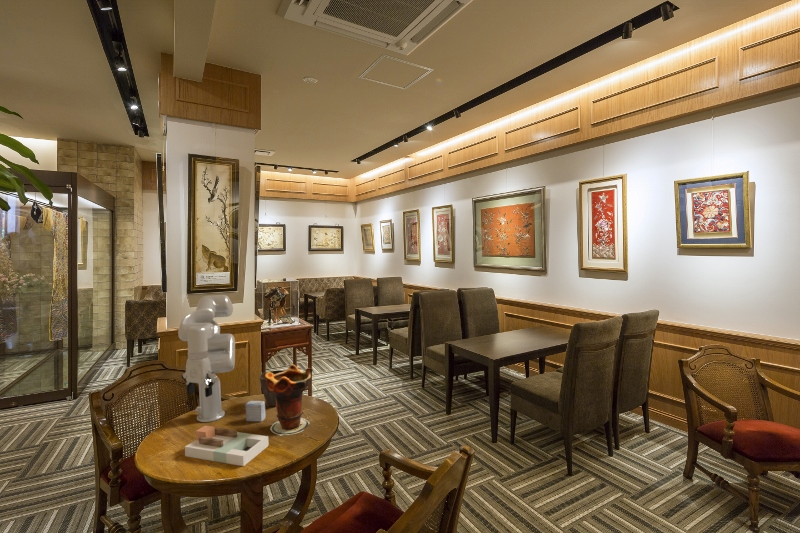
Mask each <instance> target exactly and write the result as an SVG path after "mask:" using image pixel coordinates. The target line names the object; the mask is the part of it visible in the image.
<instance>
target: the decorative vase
mask: <svg viewBox="0 0 800 533" xmlns="http://www.w3.org/2000/svg"><path fill="white" fill-rule="evenodd" d="M283 371H284V372H281V373H277V374H273V373H271V372H269V371H267V372H268V373H266V374H265V378H266V379H267V386H268V388H269V390H270V391H271V392H272V393H274V394H275V399H276V406H275V408H276V412H277V414H276V418H277V421H276V422H274V423H273V424H271V425H272V426H270V428H269V430H270V431H271V433H273V434H274V435H278V436H280V437H281V436H290V435H296V434H298V433H302V432H303V431H305V428H307V427H308V425H310V421H308V420H307V418H306V416H304V418H303V417H302V415H305V413H304V411H302V406H303V405H302V404H303V395H304V394H303V392H304V391H305V390H307V389H308V387H309V385H310V383H311V379H312V372H313V368H310V367H307V368H305V370H304V371H303V370H300V369H299V368H298V367H297V366H296V365H295V364H290V365H289V366H288V368H287V369H286V370H283ZM300 424H302V425H301V426H300ZM298 427H299V428H298ZM295 428H298V429H296V430H294V429H295Z"/></svg>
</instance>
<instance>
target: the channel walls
mask: <svg viewBox="0 0 800 533" xmlns="http://www.w3.org/2000/svg"><path fill="white" fill-rule="evenodd" d="M237 432H238V430H235V429H228V428H223V427H222V428H221V427H215V435H221V436H227V437H234V438H236V437H237ZM199 444H203V445H209V446H216V447H223V440H220V439H214V438H207V437H200V438H199Z"/></svg>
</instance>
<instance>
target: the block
mask: <svg viewBox="0 0 800 533" xmlns="http://www.w3.org/2000/svg"><path fill="white" fill-rule="evenodd" d="M215 428H216V427H215V426H211V425H203V426H202V427H200V428H199V429H196V430H195V437H196V439H195V440H198V441H199V438H200V437H207V438H213V437H214V436H215Z"/></svg>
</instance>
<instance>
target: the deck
mask: <svg viewBox="0 0 800 533" xmlns="http://www.w3.org/2000/svg"><path fill="white" fill-rule="evenodd" d="M213 438H214V439H220V440H223V447H216V446H209V445H203V444H199V441H198V440H196V439H194V440H193V441H192V442H190V443H188V444H187V445H185V446H184V456H185V457H187V458H193V459H199V460H204V461H206V460H207V461H212V462H217V463H223V464H228V465H234V466H239V467H241V466H242V467H244V466H246V465H247V464H248V463H249V462H251V461H252V460H253V459H254V458H256V457H257V456H258V455H259V454H260V453H262V452H263V451H264V450H265V449H266V448H267V447H268V446H269V444H270V443H269V435H261V434H253V433H247V432H239V431H237V437H236V438H234V437H227V436H221V435H215V436H214V437H213Z"/></svg>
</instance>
